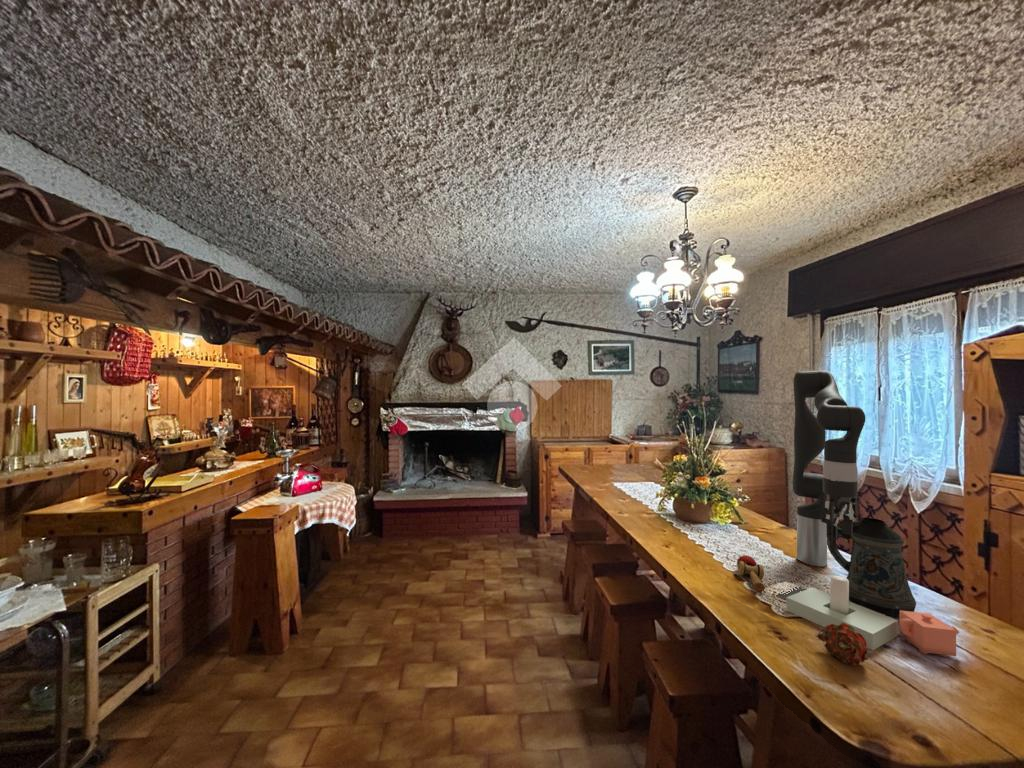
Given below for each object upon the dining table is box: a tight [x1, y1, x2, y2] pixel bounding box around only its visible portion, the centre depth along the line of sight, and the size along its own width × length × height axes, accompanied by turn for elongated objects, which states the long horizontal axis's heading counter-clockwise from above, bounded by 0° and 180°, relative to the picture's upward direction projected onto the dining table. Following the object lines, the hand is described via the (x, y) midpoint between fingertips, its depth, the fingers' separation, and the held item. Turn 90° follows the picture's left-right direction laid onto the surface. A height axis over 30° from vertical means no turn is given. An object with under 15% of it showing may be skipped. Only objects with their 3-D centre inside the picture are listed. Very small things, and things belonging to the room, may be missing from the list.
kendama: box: [736, 554, 766, 593], centre depth 137 cm, size 8×6×18 cm
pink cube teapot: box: [898, 610, 960, 658], centre depth 102 cm, size 8×12×8 cm, turn 78°
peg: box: [829, 575, 850, 615], centre depth 112 cm, size 4×4×12 cm
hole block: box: [785, 587, 899, 651], centre depth 112 cm, size 14×20×4 cm
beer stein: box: [827, 517, 917, 619], centre depth 124 cm, size 16×19×25 cm
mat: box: [775, 585, 808, 601], centre depth 129 cm, size 14×10×1 cm
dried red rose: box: [817, 623, 869, 666], centre depth 97 cm, size 8×8×12 cm
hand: (839, 536), depth 113 cm, fingers open, 8 cm apart
